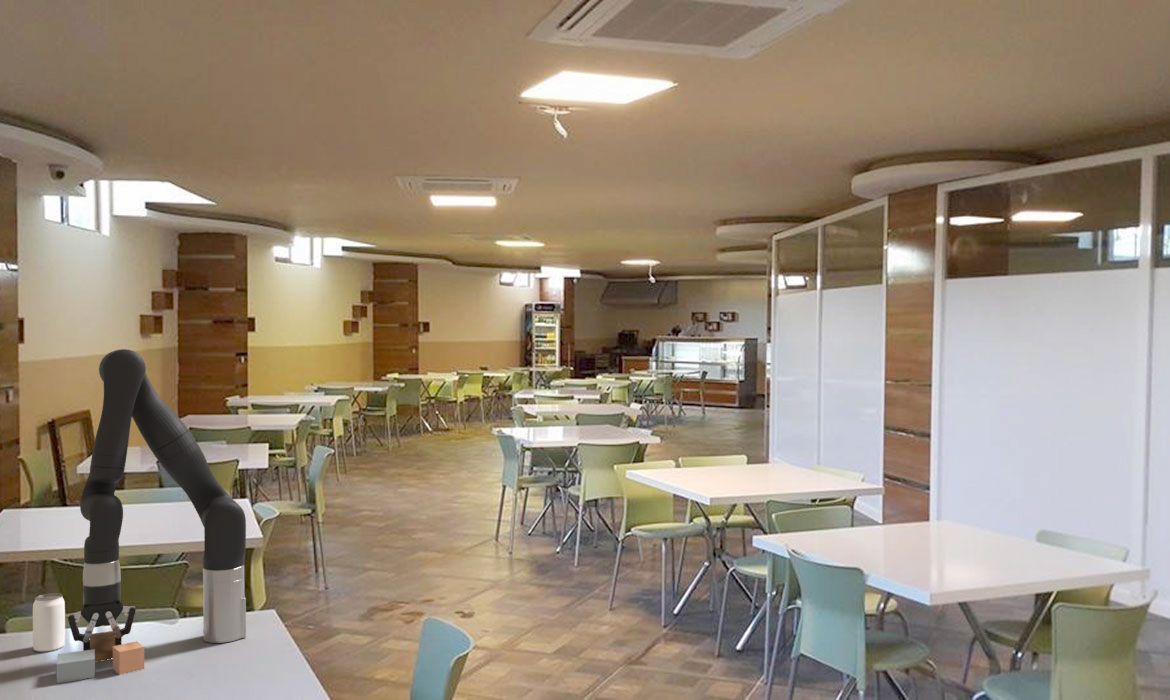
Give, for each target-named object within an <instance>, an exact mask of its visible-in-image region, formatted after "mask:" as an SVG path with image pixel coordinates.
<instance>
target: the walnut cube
mask: <svg viewBox="0 0 1170 700" xmlns="http://www.w3.org/2000/svg"><path fill="white" fill-rule="evenodd" d="M89 640H90V650H92V649H95V661H98V662H102V661H101V660H105V661H108V660H107V659H111V658H113V646H115V634H114V632H113V630H111V631H110V630H109V631H103V632H95V633H92V634H91V636H90V639H89Z"/></svg>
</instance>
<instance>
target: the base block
mask: <svg viewBox="0 0 1170 700" xmlns="http://www.w3.org/2000/svg"><path fill="white" fill-rule="evenodd" d="M94 677H96V662H95V649H92V650H85V651H83V650H79V651H72V652H65V653H58V654H57V660H56V684H61V683H68V682H74V681H76V682H77V681H80V680H81V681H82V680H88V679H87V678H89V679H94Z"/></svg>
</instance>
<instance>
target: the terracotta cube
mask: <svg viewBox="0 0 1170 700" xmlns="http://www.w3.org/2000/svg"><path fill="white" fill-rule="evenodd" d="M112 669H114V672H115V673H117V672H118V673H119V674H122V675H125V674H124V673H126V674H129V673H128V672H130V673H134V672H133V671H135V672H138V671H137V670H139V671H142V670H141V669H144V670H145V646H144V645H143V644H141V643H140V642H139V641H138V640H136V641H132V642H127V643H123V644H122V645H117V646H113V659H112ZM118 673H117V674H118ZM119 674H118V675H119Z"/></svg>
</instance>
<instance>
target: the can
mask: <svg viewBox="0 0 1170 700" xmlns="http://www.w3.org/2000/svg"><path fill="white" fill-rule="evenodd" d="M63 596H64V595H63V594H62V593H56V592H55V593H45V594H40V595H37V596H35V597H34V602H33V604H32V649H33V651H35V652H37V653H48V652H53V651H54V652H55V651H58V650H61V649H62V648H64V646H65V645H66V604H65V603H66V602H65V599H64V598H63Z"/></svg>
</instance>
